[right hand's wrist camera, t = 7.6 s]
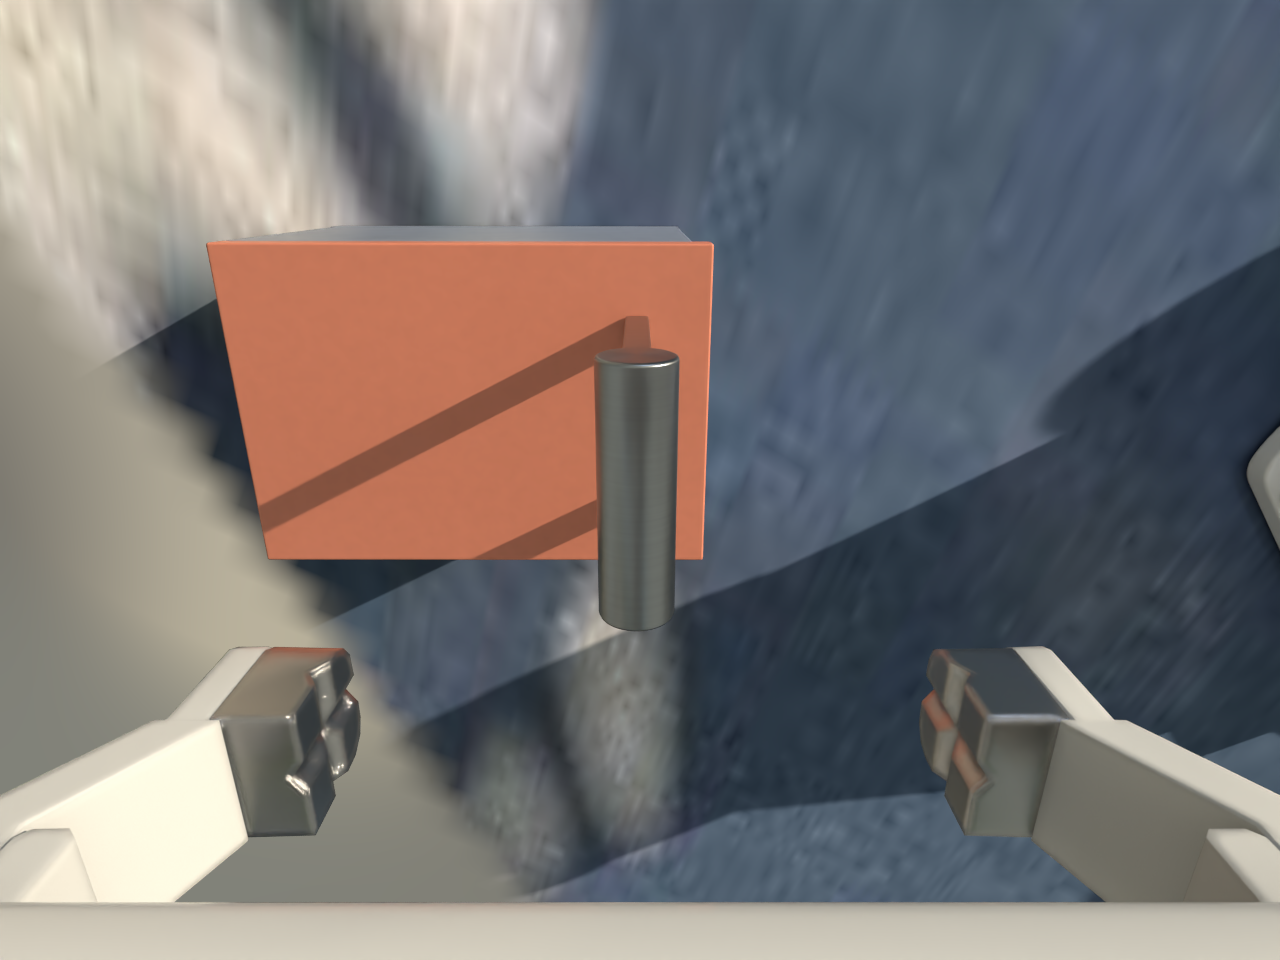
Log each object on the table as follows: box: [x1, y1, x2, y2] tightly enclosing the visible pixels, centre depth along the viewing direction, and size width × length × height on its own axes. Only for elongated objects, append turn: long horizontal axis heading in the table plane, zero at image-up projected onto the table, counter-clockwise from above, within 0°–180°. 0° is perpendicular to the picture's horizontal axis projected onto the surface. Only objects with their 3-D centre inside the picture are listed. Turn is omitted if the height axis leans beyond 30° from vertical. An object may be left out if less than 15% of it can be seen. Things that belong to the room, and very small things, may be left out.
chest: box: [227, 226, 692, 242], centre depth 29 cm, size 14×10×10 cm
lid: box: [206, 241, 714, 631], centre depth 20 cm, size 15×10×8 cm
